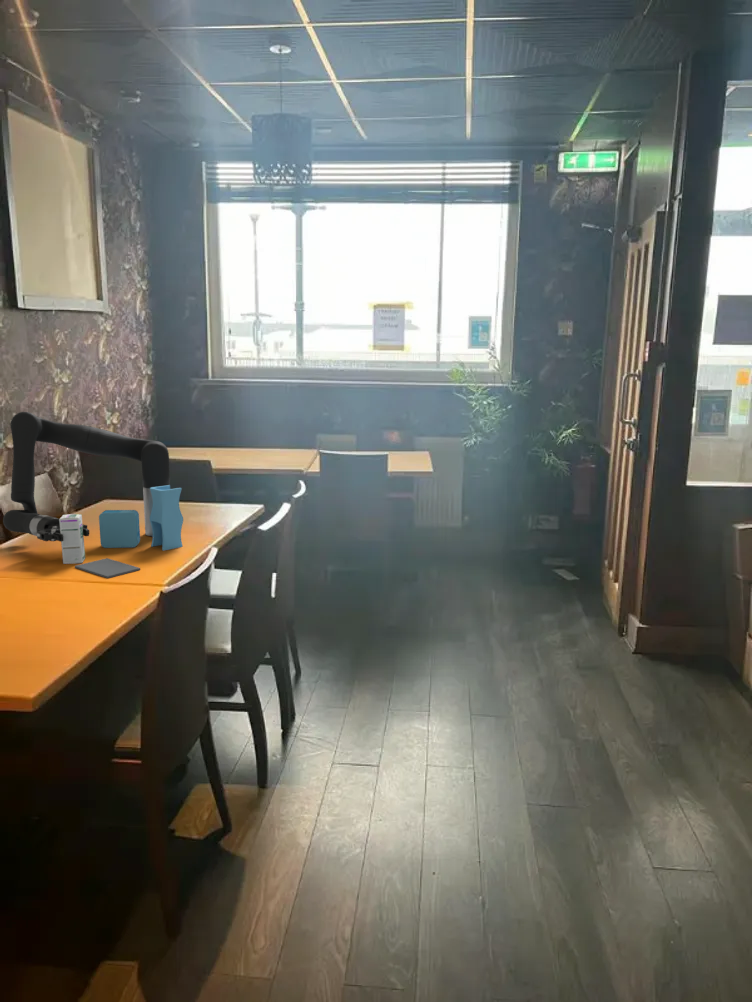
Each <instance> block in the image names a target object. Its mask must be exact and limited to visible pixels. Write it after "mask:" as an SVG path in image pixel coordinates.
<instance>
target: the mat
mask: <svg viewBox="0 0 752 1002" xmlns="http://www.w3.org/2000/svg"><path fill="white" fill-rule="evenodd" d="M74 568H75V569H78V570H81V571H84V572H87V573H90V574H93V575H96V576H100V577H102V578H106V579H111V578H115V577H118V576H122V575H125V574H130V573H134V572H138V571H141V567H139V566H135V565H132V564H128V563H124V562H122V561H119V560H118V561H117V560H114V559H111V558H107V557H106V558H101V559H98V560H94V561H89V562H85V563H79V564H75V565H74Z"/></svg>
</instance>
